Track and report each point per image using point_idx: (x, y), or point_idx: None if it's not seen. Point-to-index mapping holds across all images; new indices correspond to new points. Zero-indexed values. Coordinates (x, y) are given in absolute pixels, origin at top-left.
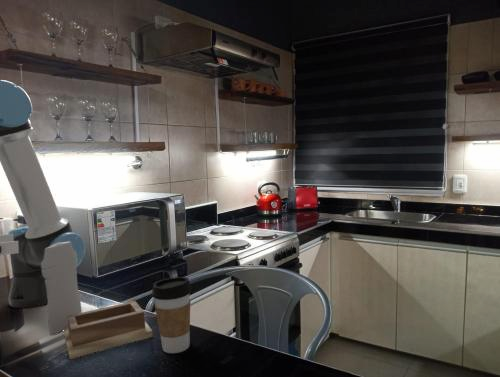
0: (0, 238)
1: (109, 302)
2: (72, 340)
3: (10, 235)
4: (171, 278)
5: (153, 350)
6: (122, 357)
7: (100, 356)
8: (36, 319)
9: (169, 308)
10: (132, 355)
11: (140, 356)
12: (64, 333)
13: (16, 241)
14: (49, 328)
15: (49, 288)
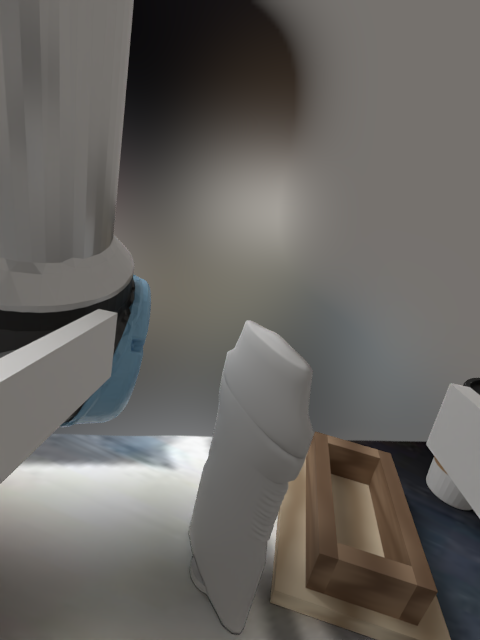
0: (79, 358)
1: (150, 441)
2: (424, 613)
3: (110, 324)
4: (468, 384)
5: (452, 517)
6: (468, 566)
7: (449, 596)
8: (44, 611)
9: None
10: (464, 550)
11: (472, 543)
12: (305, 601)
13: (475, 392)
14: (238, 619)
15: (279, 506)
